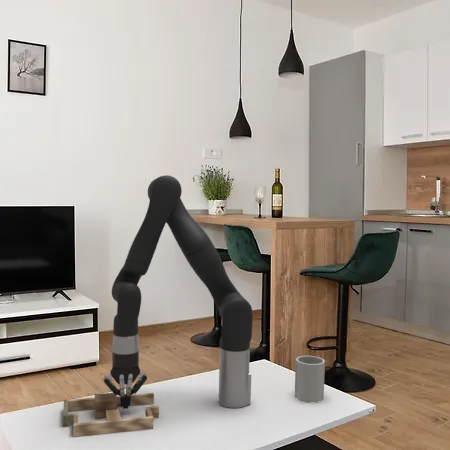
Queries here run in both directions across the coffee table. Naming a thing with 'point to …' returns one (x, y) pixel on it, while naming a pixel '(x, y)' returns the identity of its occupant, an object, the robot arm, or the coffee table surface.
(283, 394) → the coffee table surface
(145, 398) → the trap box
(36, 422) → the coffee table surface
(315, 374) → the cup
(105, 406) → the walnut block
